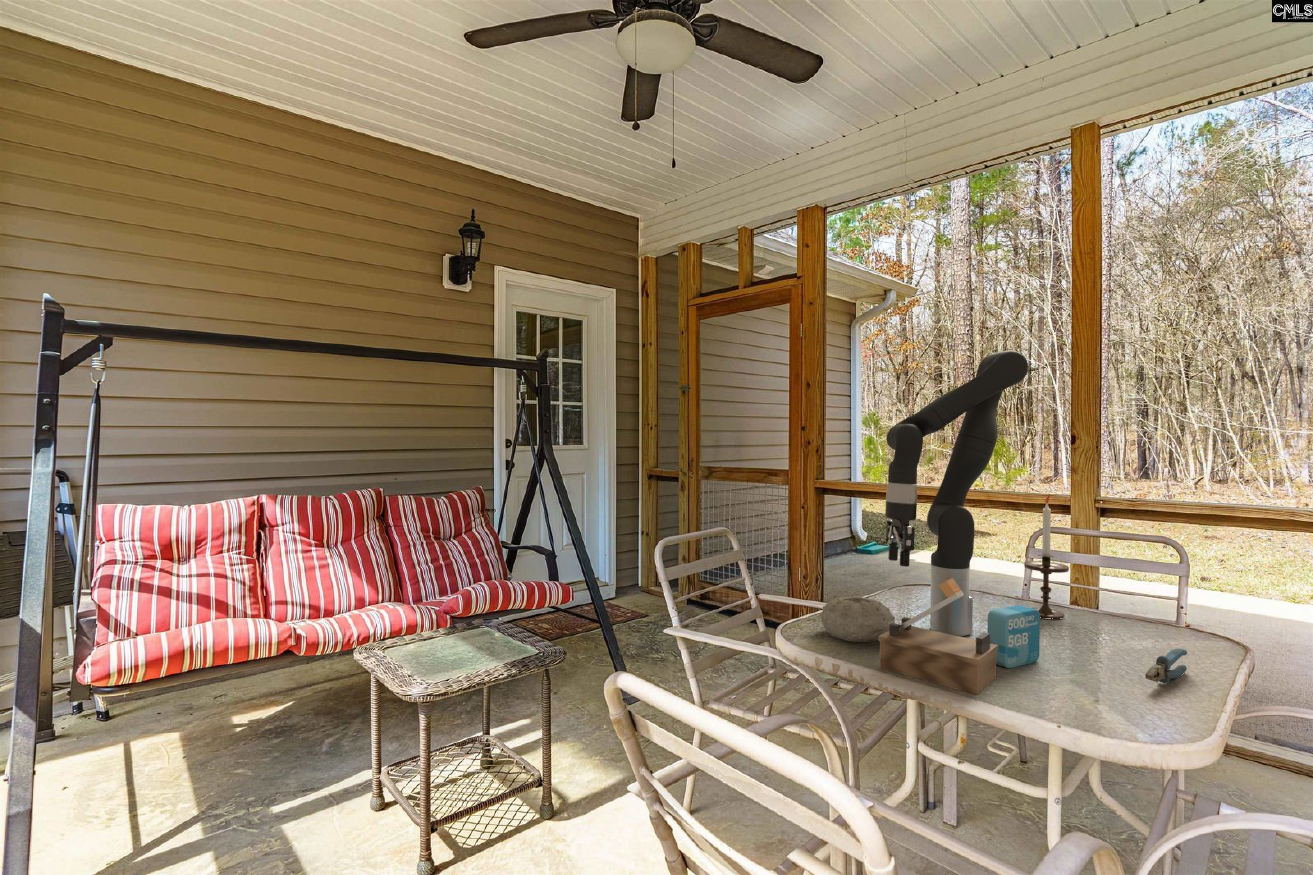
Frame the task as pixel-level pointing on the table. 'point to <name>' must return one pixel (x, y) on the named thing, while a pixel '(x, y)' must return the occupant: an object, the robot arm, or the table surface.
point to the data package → (1015, 635)
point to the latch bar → (951, 593)
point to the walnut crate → (939, 657)
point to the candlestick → (1047, 567)
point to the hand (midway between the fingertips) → (898, 563)
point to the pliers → (1167, 667)
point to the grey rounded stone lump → (856, 618)
